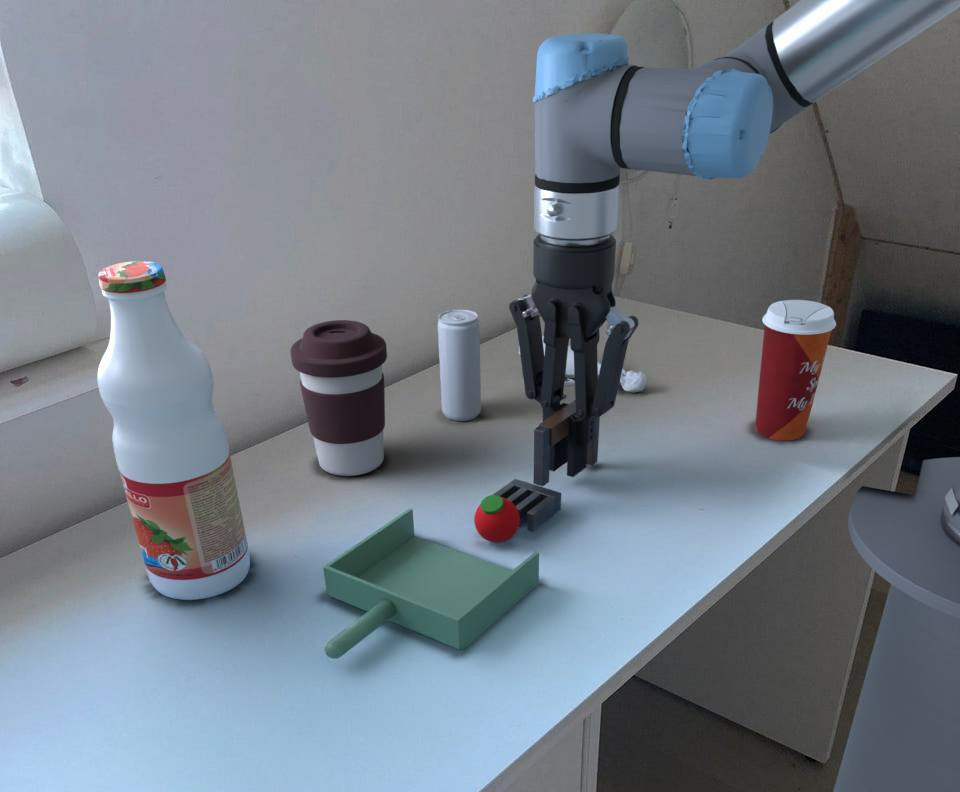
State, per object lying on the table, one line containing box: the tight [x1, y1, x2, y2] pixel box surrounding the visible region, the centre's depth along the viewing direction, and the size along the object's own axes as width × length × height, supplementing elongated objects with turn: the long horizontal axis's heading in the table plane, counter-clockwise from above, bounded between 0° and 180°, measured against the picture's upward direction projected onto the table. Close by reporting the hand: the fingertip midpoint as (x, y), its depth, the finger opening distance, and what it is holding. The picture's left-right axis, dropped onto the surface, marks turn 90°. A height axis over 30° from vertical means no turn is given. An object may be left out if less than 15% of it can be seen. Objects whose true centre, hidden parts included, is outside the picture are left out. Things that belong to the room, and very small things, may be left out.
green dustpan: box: [322, 507, 540, 660], centre depth 85 cm, size 20×15×3 cm
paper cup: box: [755, 299, 837, 442], centre depth 109 cm, size 8×8×14 cm
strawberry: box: [473, 494, 520, 544], centre depth 94 cm, size 4×4×4 cm
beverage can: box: [437, 309, 482, 422], centre depth 115 cm, size 5×5×12 cm
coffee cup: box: [289, 319, 388, 477], centre depth 105 cm, size 10×10×15 cm
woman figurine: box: [517, 334, 648, 394], centre depth 126 cm, size 12×4×18 cm
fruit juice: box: [96, 260, 251, 601], centre depth 84 cm, size 9×9×28 cm
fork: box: [492, 399, 601, 533], centre depth 100 cm, size 16×6×8 cm, turn 145°
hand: (567, 468), depth 103 cm, fingers closed on fork, 2 cm apart
